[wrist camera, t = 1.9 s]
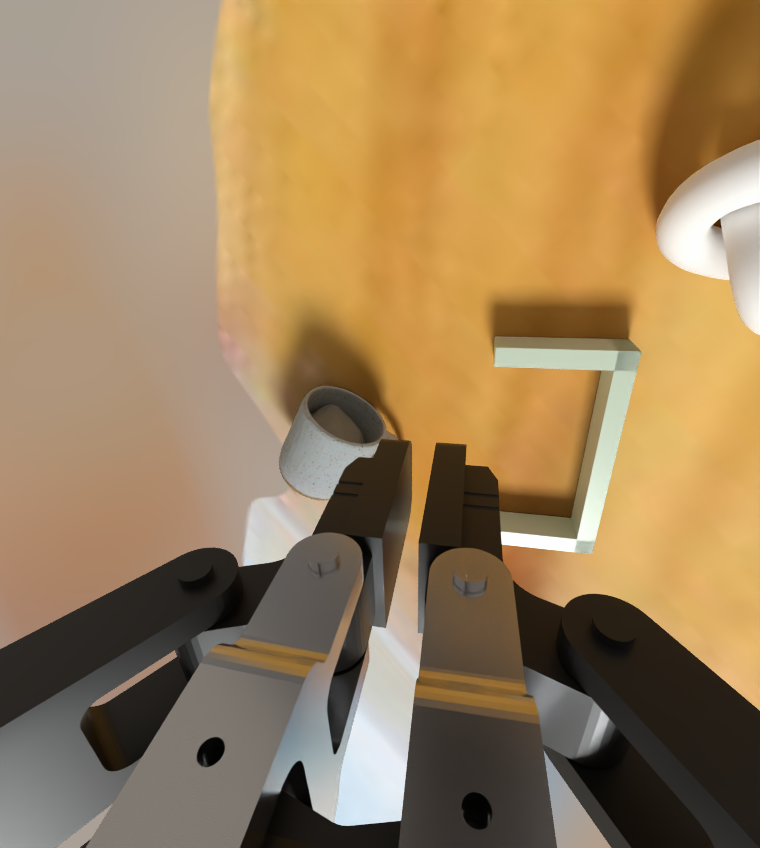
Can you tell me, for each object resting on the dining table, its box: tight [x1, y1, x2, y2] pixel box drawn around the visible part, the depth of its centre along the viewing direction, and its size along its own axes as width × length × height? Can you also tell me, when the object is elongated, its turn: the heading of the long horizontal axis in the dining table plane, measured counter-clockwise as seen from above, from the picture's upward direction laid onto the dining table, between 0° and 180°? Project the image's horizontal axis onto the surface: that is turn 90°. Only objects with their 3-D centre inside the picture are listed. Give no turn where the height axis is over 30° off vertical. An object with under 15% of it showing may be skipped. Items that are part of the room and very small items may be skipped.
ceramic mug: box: [279, 386, 399, 500], centre depth 40 cm, size 11×8×8 cm
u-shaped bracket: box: [493, 336, 641, 554], centre depth 38 cm, size 10×19×3 cm, turn 2°
